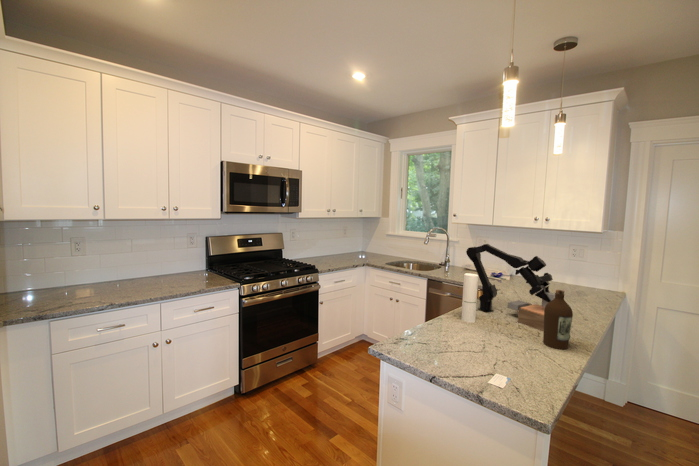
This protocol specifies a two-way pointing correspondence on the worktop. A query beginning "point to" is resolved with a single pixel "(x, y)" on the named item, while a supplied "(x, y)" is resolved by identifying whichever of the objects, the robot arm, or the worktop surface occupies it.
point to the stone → (551, 297)
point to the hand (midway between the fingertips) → (551, 301)
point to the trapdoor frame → (531, 319)
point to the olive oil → (557, 322)
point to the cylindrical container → (469, 297)
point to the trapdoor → (526, 307)
